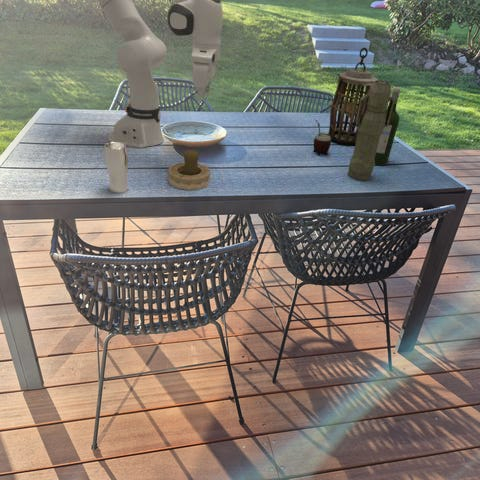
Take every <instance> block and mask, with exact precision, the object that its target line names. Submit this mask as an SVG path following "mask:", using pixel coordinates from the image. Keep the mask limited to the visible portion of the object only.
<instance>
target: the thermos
mask: <svg viewBox="0 0 480 480" xmlns="http://www.w3.org/2000/svg"><path fill="white" fill-rule="evenodd" d="M391 85H392V84H391V83H390V82H388V81H384V80H378V81H375V82H373V83H372V85H371V86H370V88H369V90H368V94H367V95H364V94H363V97H362V98H361V99H360V104H359V108H358V113H357V117H356V124H358V125H359V126H358V136H357V140H356V145H355V146H354V150H353V154H352V155H351V157H350V160H349V165H348V172H347V176H348V177H349V178H350V179H352V180H355V181H359V182H367V180H368V181H370V180H369V179H371V177H372V176H371V175H372V173H373V172H374V171H373V170H374V167H375V165H374V164H375V159H374V158H375V154H376V150H377V147H378V143H379V139H380V136H381V135H382V133H383V129H384V128H385V127H388V124H389V121H390V117H391V114H392V110H393V106H394V103H395V101H394V99H393V97H391V95H392V86H391ZM366 98H367V99H366ZM365 99H366V106H365V108H364V111H363V113H362V109H363V105H364V101H365ZM389 102H390V105H389ZM388 105H389V109H388V113H387V117H386V110H387V108H388ZM361 113H362V115H361Z"/></svg>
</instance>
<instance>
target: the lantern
mask: <svg viewBox="0 0 480 480" xmlns="http://www.w3.org/2000/svg"><path fill="white" fill-rule="evenodd" d="M363 51H365V55H364V54H362V52H363ZM368 52H369V50H368V49H367V47H362V48H361V49H360V51H359V57H360V62H358V63H357V64H356V65H355V68H349V69H348V70H347V71H346V72H341V73H338V74H337V75H338V77H337V78H338V82H337V85H336V88H335V92H334V95H333V99H332V101H331V102H332V103H331V105H330V113H329V128H328V132H327V134H328V135H330V138H331V144H334V145H335V144H336V145H338V146H341V145H342V147H349V146H354V147H355V145H356V140H357V136H358V126H359V125H358V124H357V123H356V117H357V113H358V108H359V104H360V99H361V98H362V97H363V96H364V95H367V94H368V90H369V88H370V86H371V85H372V83H373V82H375V81H379V79H378V77H376V76H374V75H372V71H370V70H368V69H366V67H367V66H366V65H365V63H364V59H366V57H367V56H368V54H369V53H368ZM358 66H363V68H362V69H361V68H358ZM366 99H367V98H366ZM366 99H365V101H364V105H363V109H362V113H363V111H364V108H365V106H366ZM362 113H361V115H362ZM355 129H356V130H355Z"/></svg>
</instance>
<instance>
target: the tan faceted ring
mask: <svg viewBox="0 0 480 480" xmlns="http://www.w3.org/2000/svg"><path fill="white" fill-rule="evenodd" d="M197 164H198V173H199V174H198V175H192V176H188V175H183V171H184V165H185V161H182V162H177V163H174V164H172V165H171V166H170V167H169V168H168V169H167V178H168V179H167V180H168V181H167V182H169V184H170V185H171V186H172V187H174V188H177V189H179V190H185V191H195V190H202V189H203V188H206V187H208V186H209V184H210V181H211V169H210V168H209V167H208V166H207V165H206V164H205V165H204V164H202V163H199V162H197Z"/></svg>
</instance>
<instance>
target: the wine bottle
mask: <svg viewBox="0 0 480 480" xmlns="http://www.w3.org/2000/svg"><path fill="white" fill-rule="evenodd" d="M400 94H401V88H400V87H393V89H392V90H391V95H390V97H393V99H394V101H395V103H394V106H393V110H392V114H391V117H390V121H389V124H388V127H385V128H384V129H383V133H382V135H381V136H380V139H379V143H378V147H377V150H376V154H375V158H374V159H375V165H374V166H377V165H384V166H386V165H387V164H388V162H389V158H390V155H391V151H392V147H393V144H394V140H395V136H396V133H397V129H398V126H399V124H400V123H399V122H400V116H399V114H398V112H397V109H396V108H397V105H398V101H399V96H400ZM389 105H390V101H389V103H388V107H387V108H386V117H387V113H388V109H389Z"/></svg>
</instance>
